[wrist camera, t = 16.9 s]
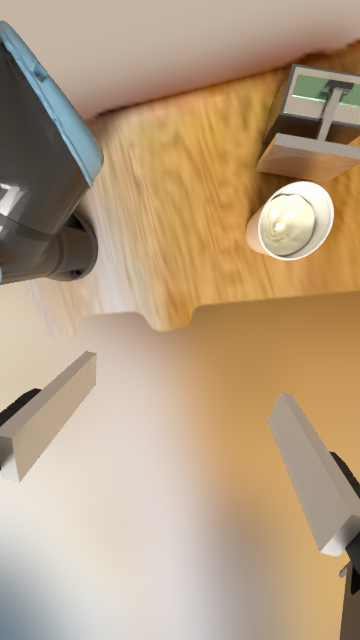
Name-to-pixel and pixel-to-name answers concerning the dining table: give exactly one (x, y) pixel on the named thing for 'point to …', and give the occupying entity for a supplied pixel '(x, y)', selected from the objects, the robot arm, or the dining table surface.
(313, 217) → the white cream cup
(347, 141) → the box
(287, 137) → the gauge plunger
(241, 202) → the dining table surface
